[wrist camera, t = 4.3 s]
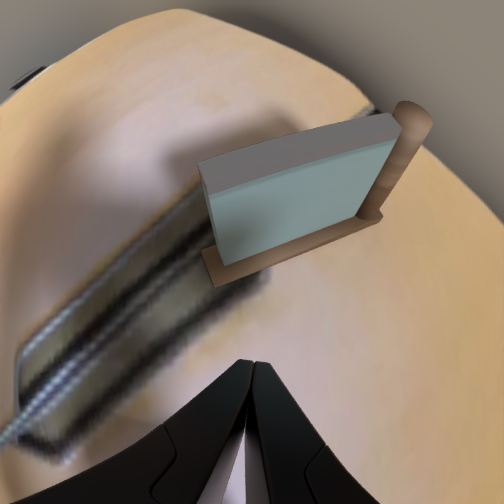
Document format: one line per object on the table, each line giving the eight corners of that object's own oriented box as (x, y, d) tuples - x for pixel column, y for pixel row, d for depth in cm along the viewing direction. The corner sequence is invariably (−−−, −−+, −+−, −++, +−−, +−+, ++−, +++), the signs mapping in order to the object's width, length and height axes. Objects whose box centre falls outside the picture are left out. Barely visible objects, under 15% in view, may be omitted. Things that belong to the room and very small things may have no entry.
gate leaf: (354, 216, 22) (402, 128, 13) (224, 266, 20) (205, 184, 12) (346, 202, 22) (388, 112, 14) (218, 250, 21) (196, 162, 12)
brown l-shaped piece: (378, 222, 23) (443, 129, 13) (214, 288, 21) (183, 206, 11) (363, 196, 24) (414, 96, 14) (202, 255, 22) (166, 157, 12)
